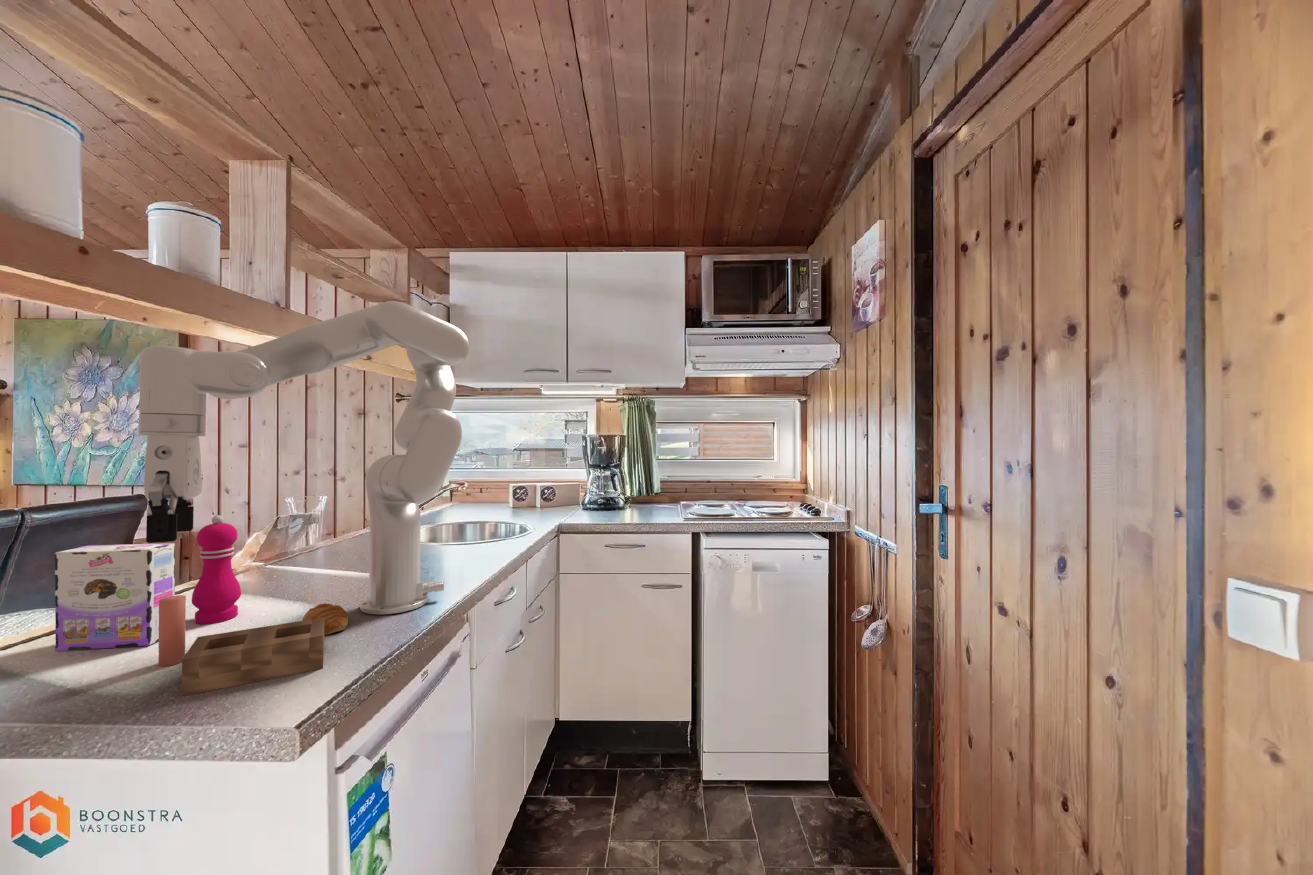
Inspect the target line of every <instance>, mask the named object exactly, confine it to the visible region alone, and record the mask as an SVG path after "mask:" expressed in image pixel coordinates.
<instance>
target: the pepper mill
mask: <svg viewBox="0 0 1313 875" xmlns="http://www.w3.org/2000/svg"><path fill="white" fill-rule="evenodd" d="M224 520H225V519H224V516H222V515H219V514H217V515H214V516H213V517H212V518H211V524H207V525H206V526H204V527H201V529H200V530H199V531H198V532H197V534H196V543H197V546H200V548H201V549H200V551H199V553H200V556H199V558H200V559H202V570H201V575H200V577H199V579H198V580H197V583H196V584H195V587H194V589H193V591H192V595H191V604H192V605H193V606H194V607H195V608H197V611H195V612H194V623H196V624H197V625H198V624H199V625H208V624H209V625H210V624H217V623H222V622H226V621H229V620H232V619H234V618H236V617H237V616H238V614H239V612H238V611H239V608H238V607H239V606H238V605H237V604H235V603H236V602H237V601H239V599H240V598H241V596H242V590H241V589H242V588H241V585H240V582H239V581H238V579H237V577H236V575H235V573H234V571H233V568H232V556H233V555H235V551H234V549H235V547H234V546H233V545H234V544H235V543H236V542H237V540H238V537H239V536H238V530H237V528H236V527H235V526H233V525H232V524H229V523H224Z"/></svg>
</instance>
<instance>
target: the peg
mask: <svg viewBox="0 0 1313 875" xmlns="http://www.w3.org/2000/svg"><path fill="white" fill-rule="evenodd" d="M186 599H187V598H186V595H184V594H182V595H181V594H180V595H178V594H177V595H175V596H170V597H166V598H162V599H160V600H159V641H158V660H157V661H158V667H162V668H163V667H164V668H165V667H170V666H171V667H172V666H175V665H179V664H182V659H183V657H184V656H185V654H186V616H187V615H186V603H187V602H186Z"/></svg>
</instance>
